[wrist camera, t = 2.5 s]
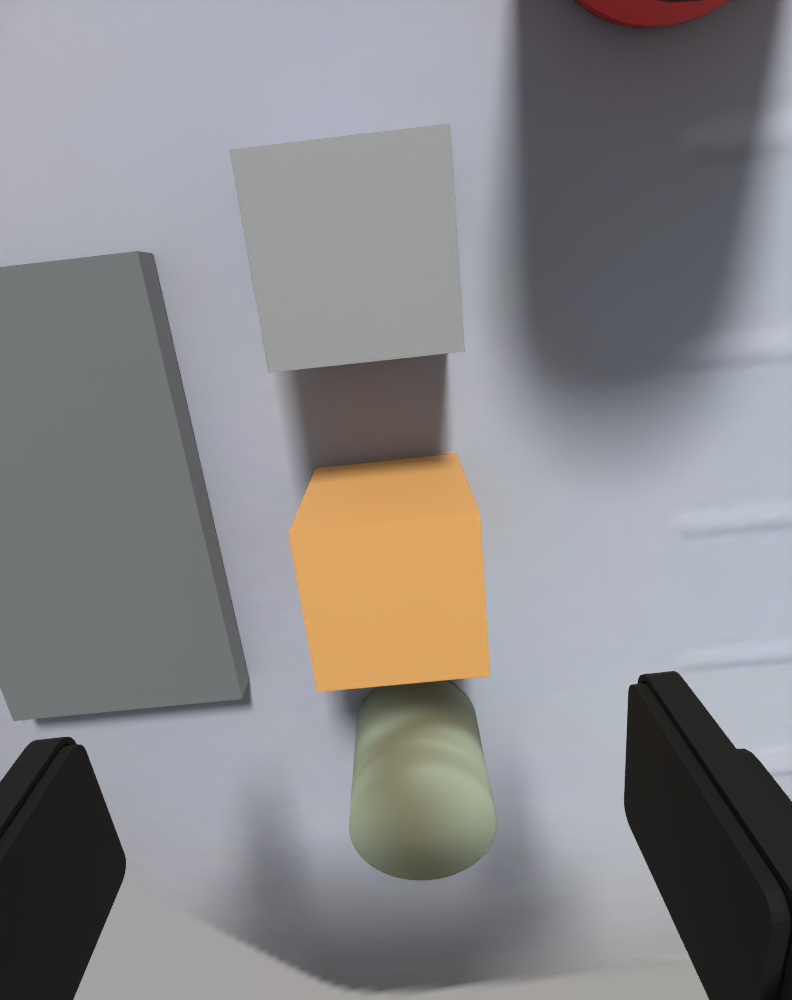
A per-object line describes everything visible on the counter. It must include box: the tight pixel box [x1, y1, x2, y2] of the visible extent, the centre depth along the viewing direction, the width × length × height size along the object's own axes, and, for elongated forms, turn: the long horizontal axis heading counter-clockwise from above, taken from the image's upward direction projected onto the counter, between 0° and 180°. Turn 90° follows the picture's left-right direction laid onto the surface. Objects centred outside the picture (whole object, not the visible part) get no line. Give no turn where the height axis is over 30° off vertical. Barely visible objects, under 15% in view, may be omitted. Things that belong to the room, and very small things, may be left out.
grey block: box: [230, 124, 465, 373], centre depth 17 cm, size 5×5×5 cm
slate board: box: [0, 251, 249, 721], centre depth 21 cm, size 9×16×1 cm, turn 6°
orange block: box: [288, 453, 490, 692], centre depth 19 cm, size 5×5×6 cm
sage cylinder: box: [349, 680, 496, 880], centre depth 23 cm, size 5×5×5 cm
